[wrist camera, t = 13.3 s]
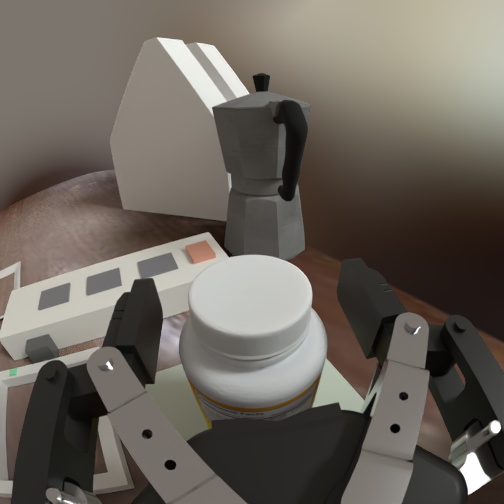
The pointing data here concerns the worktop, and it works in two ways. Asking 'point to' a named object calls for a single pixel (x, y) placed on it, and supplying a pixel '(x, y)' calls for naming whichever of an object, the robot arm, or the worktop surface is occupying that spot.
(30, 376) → the white square frame
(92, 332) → the power strip
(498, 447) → the robot arm
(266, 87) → the coffeepot
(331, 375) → the mat
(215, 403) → the supplement bottle
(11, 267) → the dessert
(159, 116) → the white slotted block
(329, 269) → the worktop surface
